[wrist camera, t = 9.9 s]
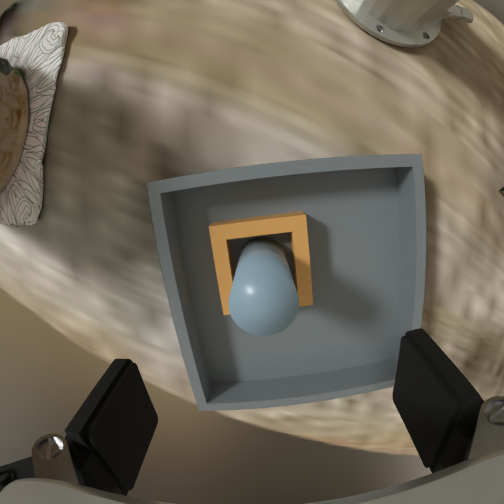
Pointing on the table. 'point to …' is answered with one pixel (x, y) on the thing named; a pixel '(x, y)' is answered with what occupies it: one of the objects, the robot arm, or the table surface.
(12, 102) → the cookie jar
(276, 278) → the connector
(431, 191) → the table surface
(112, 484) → the robot arm
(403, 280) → the walled box
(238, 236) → the frame
